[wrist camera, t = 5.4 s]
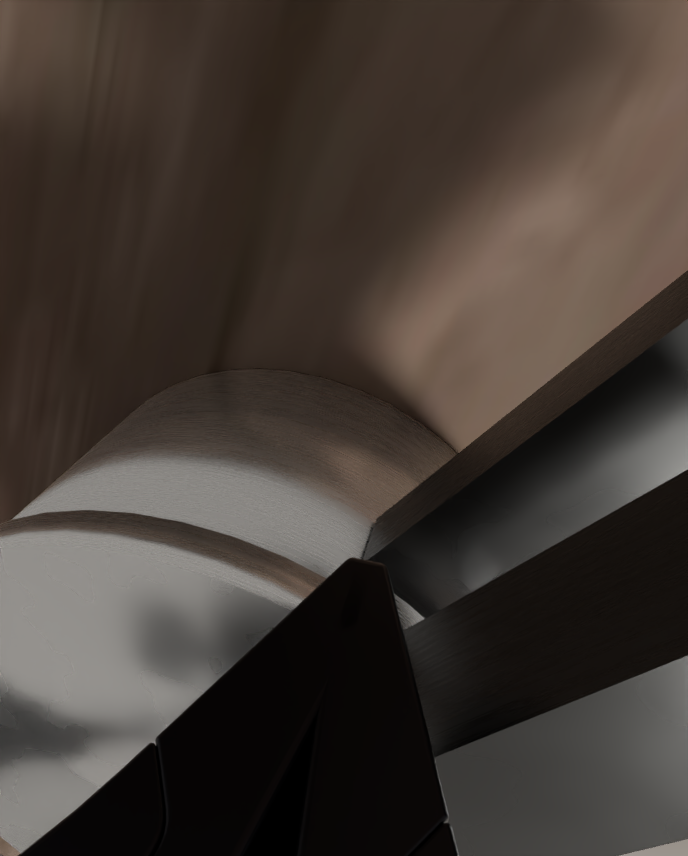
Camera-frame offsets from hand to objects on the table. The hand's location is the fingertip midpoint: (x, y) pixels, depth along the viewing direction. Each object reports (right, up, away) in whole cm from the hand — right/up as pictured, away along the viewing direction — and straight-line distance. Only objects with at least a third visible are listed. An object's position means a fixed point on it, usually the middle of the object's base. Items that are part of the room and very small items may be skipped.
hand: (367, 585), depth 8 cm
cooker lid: (-2, -4, +5) cm, 7 cm away
